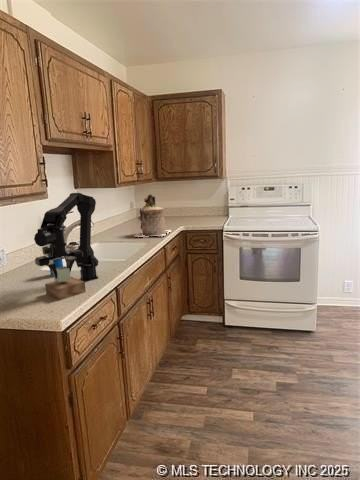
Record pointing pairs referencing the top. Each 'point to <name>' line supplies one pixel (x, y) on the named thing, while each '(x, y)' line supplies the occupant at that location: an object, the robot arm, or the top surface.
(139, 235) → the cookie jar
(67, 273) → the sage green block
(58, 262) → the beverage can
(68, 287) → the walnut block
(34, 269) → the top surface
